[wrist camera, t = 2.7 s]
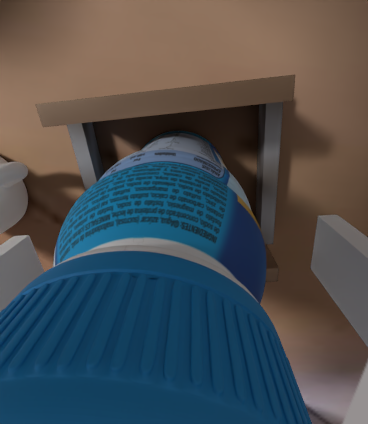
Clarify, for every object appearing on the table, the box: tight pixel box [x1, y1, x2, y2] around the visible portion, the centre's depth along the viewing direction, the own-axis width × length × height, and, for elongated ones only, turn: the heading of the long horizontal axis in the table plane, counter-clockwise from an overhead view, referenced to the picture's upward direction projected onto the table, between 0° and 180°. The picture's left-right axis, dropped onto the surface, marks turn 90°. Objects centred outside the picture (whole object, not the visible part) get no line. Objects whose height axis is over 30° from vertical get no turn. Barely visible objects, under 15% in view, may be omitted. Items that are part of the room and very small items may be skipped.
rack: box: [35, 75, 295, 282], centre depth 18 cm, size 13×16×7 cm
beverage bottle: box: [0, 131, 312, 424], centre depth 12 cm, size 8×8×20 cm
